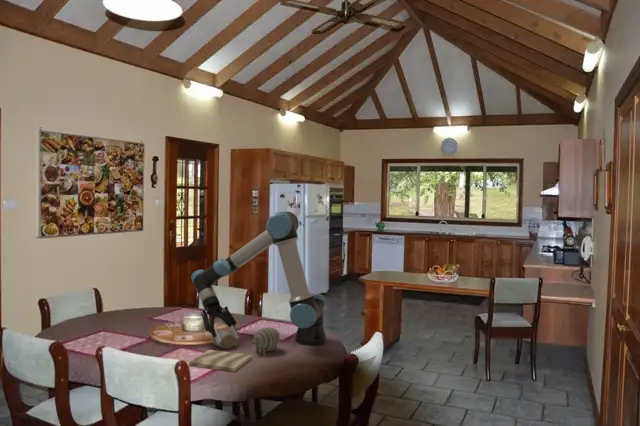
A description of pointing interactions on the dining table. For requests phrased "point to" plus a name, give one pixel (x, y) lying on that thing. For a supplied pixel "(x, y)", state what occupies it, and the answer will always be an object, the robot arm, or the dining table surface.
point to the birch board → (220, 360)
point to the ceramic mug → (225, 339)
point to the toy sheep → (266, 339)
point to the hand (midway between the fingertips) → (228, 340)
